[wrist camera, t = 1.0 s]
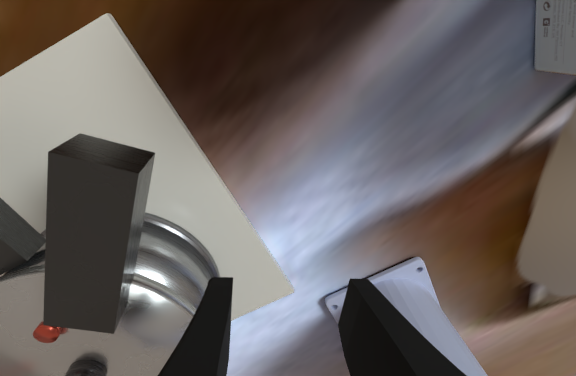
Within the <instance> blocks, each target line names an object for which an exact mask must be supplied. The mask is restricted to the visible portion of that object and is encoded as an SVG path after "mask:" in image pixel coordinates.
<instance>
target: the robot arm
mask: <svg viewBox="0 0 576 376" xmlns="http://www.w3.org/2000/svg"><path fill="white" fill-rule="evenodd" d="M419 267H420V268H419ZM417 268H418V269H417ZM232 290H233V277H212V278H211V279H210V280H209V281H208V285H207V288H206V290H205V293H204V295H203V297H202V300H201V302H200V304H199V306H198V308H197V310H196V312H195V314H194V316H193V318H192V320H191V321H190V323H189V325H188V327H187V329H186V330H185V332H184V334H183V336H182V338H181V339H180V341H179V343H178V344H177V346H176V348H175V349H174V351H173V352H172V354H171V356H170V357H169V359H168V360H167V362H166V364H165V365H164V367H163V368H162V370H161V371H160V373H159V374H158V376H226V374H227V367H228V360H229V343H230V326H231V308H232ZM325 304H326V306H327V308H328V309H329V311H330V313H331V314H332V316H333V317H334V319H335V321H336V322H337V324H338V326H339V332H340V337H341V342H342V347H343V351H344V356H345V359H346V363H347V366H348V369H349V372H350V375H351V376H488V375H487V374H486V373H485V371H484V370H483V368H482V367H481V365H480V364H479V363H478V361H477V360H476V358H475V357H474V355H473V354H472V353H471V351H470V350H469V348H468V347H467V345H466V344H465V342H464V341H463V340H462V338H461V337H460V335H459V334H458V332H457V331H456V330H455V328H454V327H453V325H452V324H451V322H450V321H449V320H448V318H447V317H446V315H445V314H444V312H443V311H442V310H441V308H440V305H439V302H438V299H437V297H436V294H435V291H434V288H433V286H432V283H431V280H430V277H429V275H428V272H427V269H426V266H425V264H424V262H423V260H422V259H421V258H420V257H415V258H412V259H410V260H408V261H405V262H403V263H401V264H399V265H396V266H394V267H392V268H390V269H387V270H385V271H383V272H381V273H378V274H376V275H374V276H372V277H369V278H367V279H350V281H349V284H348V287H347V288H345V289H343V290H340V291H338V292H336V293H334V294H331V295H329V296H327V297H326V298H325ZM333 305H335V306H333Z"/></svg>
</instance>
